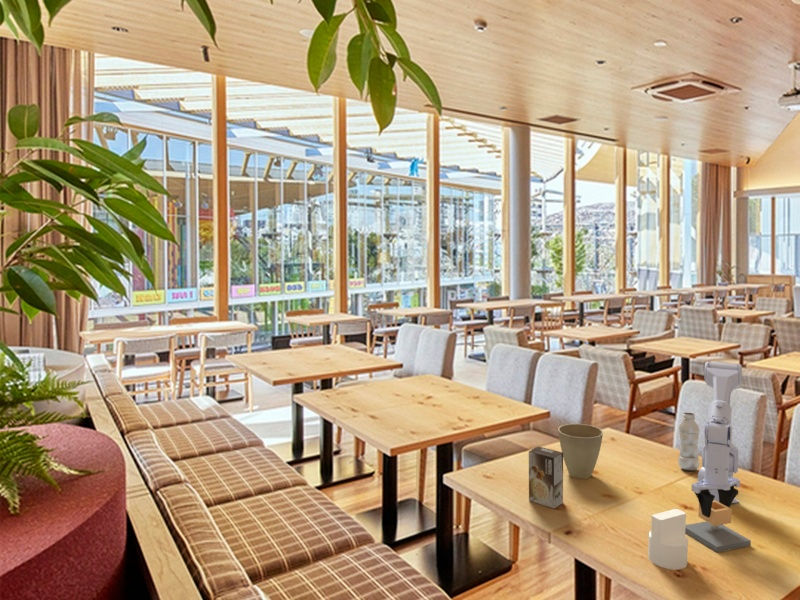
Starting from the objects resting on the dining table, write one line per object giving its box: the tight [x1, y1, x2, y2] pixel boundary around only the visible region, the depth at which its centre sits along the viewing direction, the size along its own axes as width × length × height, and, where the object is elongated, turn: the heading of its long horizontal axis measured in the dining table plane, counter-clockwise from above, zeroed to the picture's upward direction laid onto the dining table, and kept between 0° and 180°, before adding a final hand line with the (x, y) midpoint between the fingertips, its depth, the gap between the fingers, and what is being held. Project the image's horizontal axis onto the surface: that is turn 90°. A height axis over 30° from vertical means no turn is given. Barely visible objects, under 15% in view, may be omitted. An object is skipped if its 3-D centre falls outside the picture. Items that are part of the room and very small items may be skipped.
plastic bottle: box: [677, 412, 700, 472], centre depth 203 cm, size 6×7×20 cm
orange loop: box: [698, 500, 733, 526], centre depth 158 cm, size 6×6×4 cm
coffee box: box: [528, 446, 564, 509], centre depth 179 cm, size 9×6×16 cm
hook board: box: [685, 520, 752, 553], centre depth 156 cm, size 12×11×6 cm
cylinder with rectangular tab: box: [647, 508, 689, 571], centre depth 145 cm, size 9×9×12 cm
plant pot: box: [557, 423, 604, 480], centre depth 200 cm, size 15×15×16 cm
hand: (714, 514), depth 158 cm, fingers closed on orange loop, 5 cm apart
